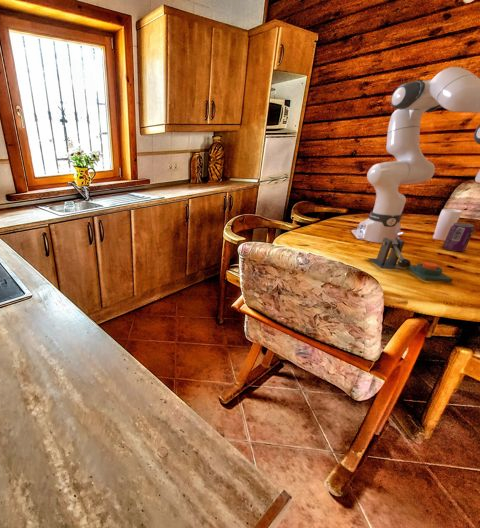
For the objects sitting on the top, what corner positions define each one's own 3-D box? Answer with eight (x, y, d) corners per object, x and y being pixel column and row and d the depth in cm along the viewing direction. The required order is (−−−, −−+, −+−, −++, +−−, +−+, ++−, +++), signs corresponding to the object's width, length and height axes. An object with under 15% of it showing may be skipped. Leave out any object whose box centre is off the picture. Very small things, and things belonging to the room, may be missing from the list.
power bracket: (403, 271, 112) (414, 244, 107) (379, 270, 114) (389, 243, 109) (389, 261, 121) (398, 236, 116) (367, 260, 123) (375, 235, 118)
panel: (403, 269, 114) (406, 260, 112) (427, 270, 112) (431, 261, 110) (423, 282, 103) (427, 273, 102) (450, 284, 101) (454, 274, 100)
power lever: (409, 270, 106) (414, 263, 104) (397, 269, 107) (403, 263, 105) (394, 244, 115) (398, 238, 113) (383, 244, 116) (388, 238, 114)
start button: (419, 265, 108) (420, 261, 108) (431, 266, 107) (433, 262, 107) (426, 270, 105) (428, 265, 104) (439, 270, 104) (441, 266, 103)
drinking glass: (434, 240, 140) (446, 211, 134) (427, 236, 145) (438, 208, 139) (452, 241, 137) (465, 212, 131) (444, 237, 143) (456, 209, 137)
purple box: (468, 252, 125) (481, 226, 120) (449, 252, 127) (461, 226, 122) (455, 246, 132) (466, 222, 127) (437, 246, 133) (447, 222, 128)
